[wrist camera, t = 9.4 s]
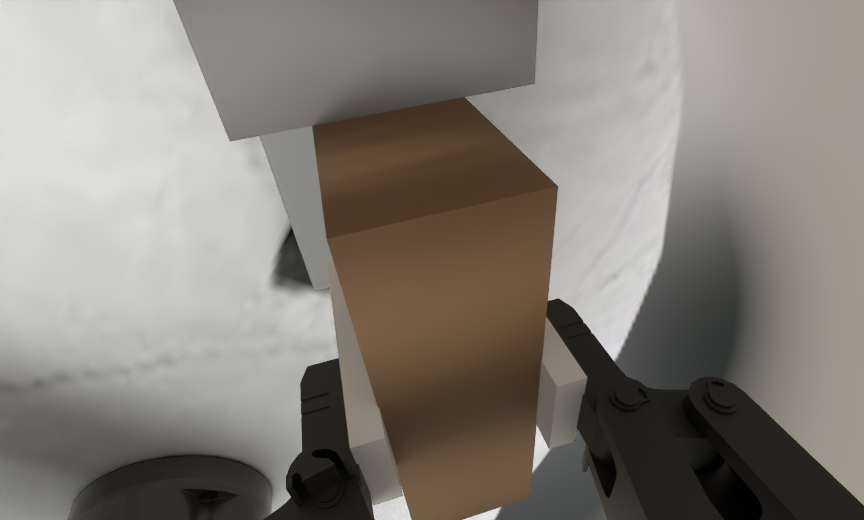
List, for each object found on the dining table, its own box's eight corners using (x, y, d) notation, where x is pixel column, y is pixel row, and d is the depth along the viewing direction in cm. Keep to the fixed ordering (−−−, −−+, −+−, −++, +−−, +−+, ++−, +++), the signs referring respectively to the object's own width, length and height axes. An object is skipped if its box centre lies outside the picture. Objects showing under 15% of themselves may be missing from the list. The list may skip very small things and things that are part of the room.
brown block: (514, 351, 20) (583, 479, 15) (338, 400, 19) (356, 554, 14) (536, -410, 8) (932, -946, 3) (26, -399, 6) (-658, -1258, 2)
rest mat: (461, 249, 30) (464, 254, 29) (314, 285, 28) (314, 291, 28) (420, -308, 15) (424, -315, 15) (111, -291, 14) (105, -299, 13)
